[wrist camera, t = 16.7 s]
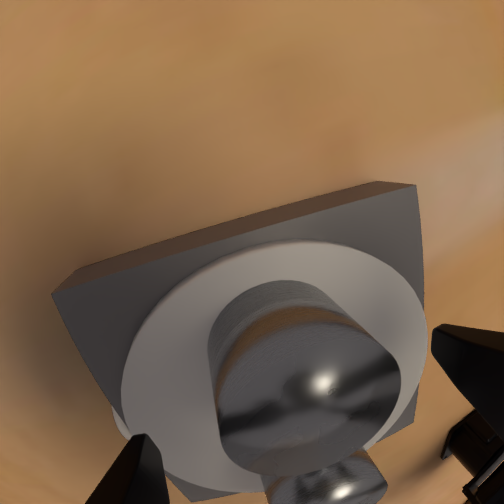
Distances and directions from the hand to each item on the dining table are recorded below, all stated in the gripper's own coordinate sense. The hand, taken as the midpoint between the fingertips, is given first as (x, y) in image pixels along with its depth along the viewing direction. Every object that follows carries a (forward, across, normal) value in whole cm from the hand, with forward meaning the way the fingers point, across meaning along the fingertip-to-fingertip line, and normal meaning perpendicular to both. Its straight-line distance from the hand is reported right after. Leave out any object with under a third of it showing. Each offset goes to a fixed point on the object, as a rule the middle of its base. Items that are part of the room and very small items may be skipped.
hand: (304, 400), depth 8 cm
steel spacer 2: (+3, 0, +7) cm, 8 cm away
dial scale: (+7, 0, +4) cm, 8 cm away
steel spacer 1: (+3, 0, 0) cm, 3 cm away
